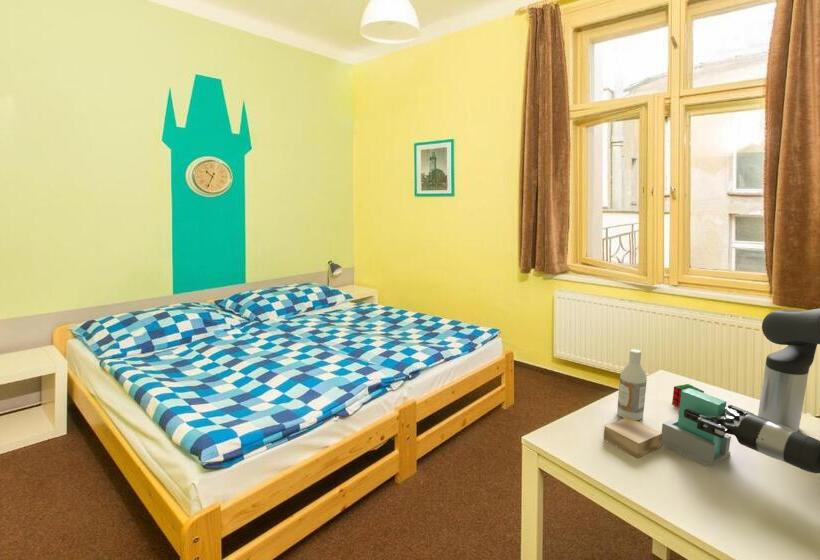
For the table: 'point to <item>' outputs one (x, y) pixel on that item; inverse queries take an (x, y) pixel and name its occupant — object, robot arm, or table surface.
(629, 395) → the bath foam
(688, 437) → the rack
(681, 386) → the puzzle toy
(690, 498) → the table surface
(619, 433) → the wooden square base
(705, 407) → the teal rectangular block
